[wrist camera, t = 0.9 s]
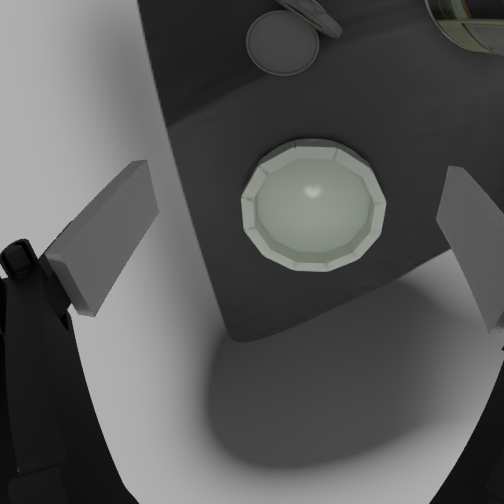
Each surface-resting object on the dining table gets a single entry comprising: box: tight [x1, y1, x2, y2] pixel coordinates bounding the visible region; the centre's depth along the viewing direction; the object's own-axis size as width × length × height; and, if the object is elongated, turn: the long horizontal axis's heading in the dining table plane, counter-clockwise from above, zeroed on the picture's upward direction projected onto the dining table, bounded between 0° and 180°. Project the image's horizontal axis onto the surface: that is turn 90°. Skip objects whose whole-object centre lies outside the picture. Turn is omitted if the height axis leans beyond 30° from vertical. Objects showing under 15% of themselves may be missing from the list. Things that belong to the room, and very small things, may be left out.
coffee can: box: [425, 0, 504, 56], centre depth 12 cm, size 10×10×14 cm
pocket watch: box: [246, 0, 343, 76], centre depth 20 cm, size 8×8×10 cm
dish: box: [241, 138, 386, 272], centre depth 33 cm, size 15×15×3 cm
